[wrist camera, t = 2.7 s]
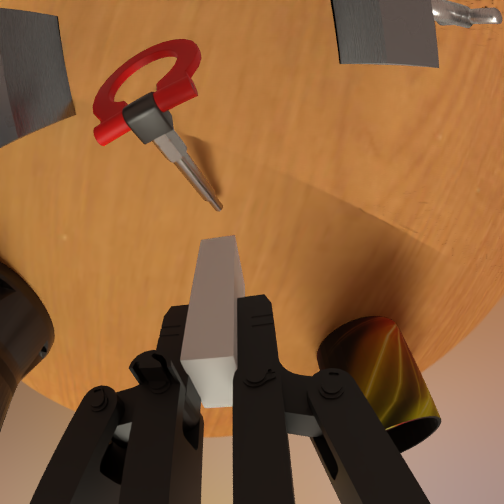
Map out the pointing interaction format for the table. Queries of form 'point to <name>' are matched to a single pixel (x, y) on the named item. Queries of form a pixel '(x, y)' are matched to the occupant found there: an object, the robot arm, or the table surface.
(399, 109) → the table surface
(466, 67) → the table surface
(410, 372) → the mug
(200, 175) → the tow hook
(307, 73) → the table surface
